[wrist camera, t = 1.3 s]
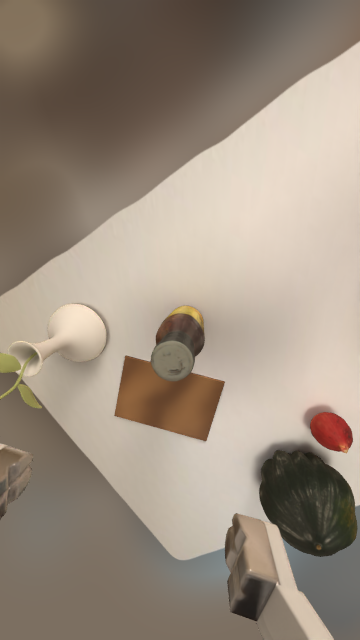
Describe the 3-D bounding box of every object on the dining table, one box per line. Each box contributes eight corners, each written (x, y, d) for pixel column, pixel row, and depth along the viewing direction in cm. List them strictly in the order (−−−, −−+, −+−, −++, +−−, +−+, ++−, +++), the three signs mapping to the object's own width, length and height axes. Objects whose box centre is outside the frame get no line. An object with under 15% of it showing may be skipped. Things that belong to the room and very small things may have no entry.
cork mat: (224, 381, 40) (224, 382, 40) (206, 440, 43) (206, 441, 43) (125, 355, 41) (125, 356, 41) (115, 414, 44) (114, 415, 44)
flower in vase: (46, 311, 41) (-185, 368, 16) (97, 295, 39) (-77, 330, 15) (71, 371, 43) (-97, 497, 19) (121, 357, 41) (6, 479, 17)
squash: (348, 536, 38) (405, 587, 25) (264, 533, 41) (277, 578, 28) (319, 446, 45) (353, 450, 32) (249, 449, 48) (254, 454, 35)
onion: (324, 397, 39) (355, 428, 31) (341, 419, 39) (375, 455, 31) (296, 413, 40) (319, 446, 32) (313, 434, 40) (339, 472, 33)
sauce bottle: (196, 341, 39) (192, 408, 20) (165, 331, 39) (130, 386, 20) (208, 308, 37) (216, 346, 18) (175, 298, 37) (148, 323, 18)
